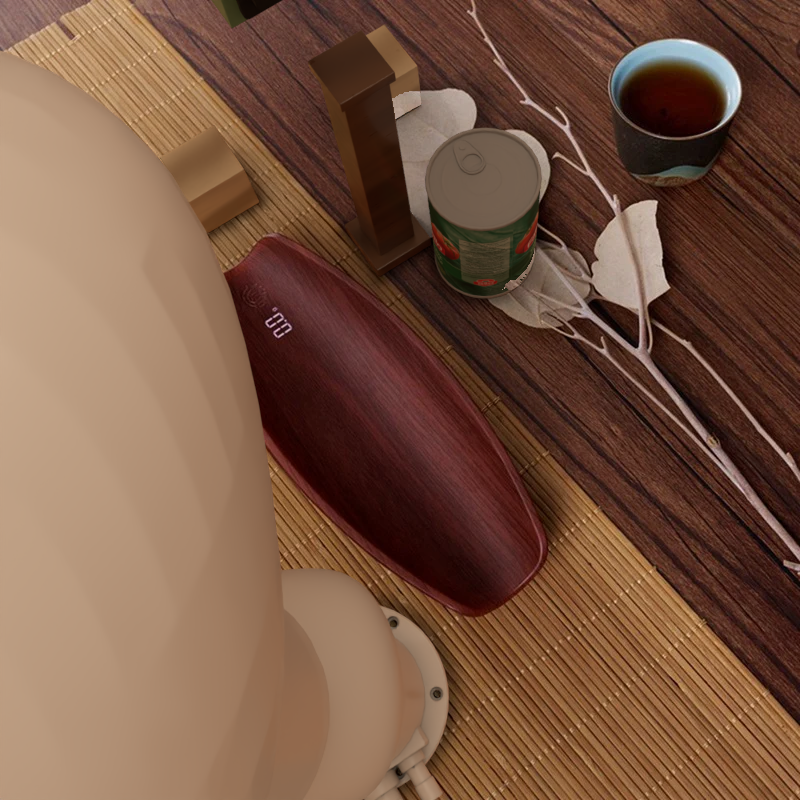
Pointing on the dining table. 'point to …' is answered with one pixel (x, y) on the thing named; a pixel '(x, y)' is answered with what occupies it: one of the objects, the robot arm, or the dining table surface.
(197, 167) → the line block
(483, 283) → the canned tomato
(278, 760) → the robot arm
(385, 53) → the line block
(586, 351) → the dining table surface
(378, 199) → the stand
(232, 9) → the green block
